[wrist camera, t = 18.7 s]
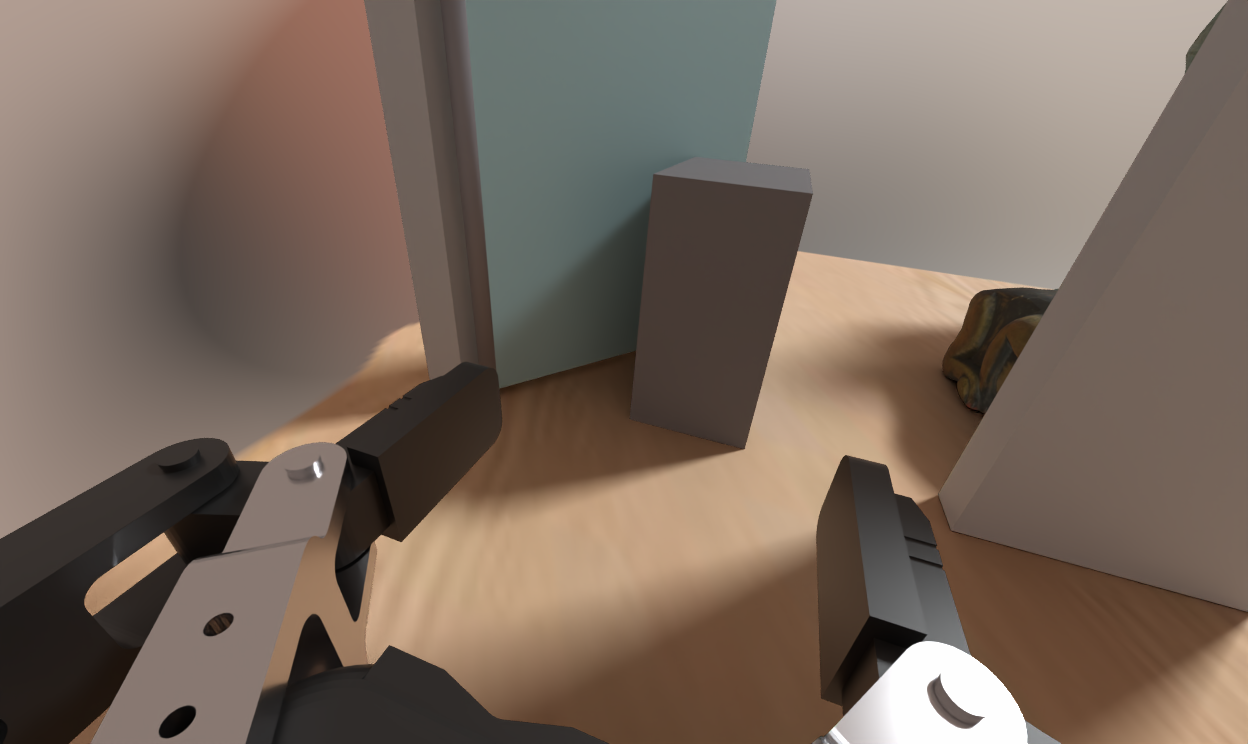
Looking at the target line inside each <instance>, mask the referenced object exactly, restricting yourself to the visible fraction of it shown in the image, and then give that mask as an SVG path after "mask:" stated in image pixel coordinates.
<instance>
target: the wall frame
mask: <svg viewBox="0 0 1248 744" xmlns="http://www.w3.org/2000/svg"><path fill="white" fill-rule="evenodd" d="M364 2H365V8H366V13H367V20H368V26H369V31H370V37H371V43H372V49H373V55H374V60H375V66H376V72H377V78H378V83H379V89H380V95H381V101H382V106H383V112H384V118H385V124H386V130H387V135H388V141H389V147H390V153H391V158H392V164H393V170H394V176H395V182H396V187H397V193H398V199H399V205H400V210H401V216H402V222H403V228H404V234H405V240H406V245H407V251H408V257H409V263H410V269H411V274H412V280H413V285H414V291H415V297H416V303H417V309H418V315H419V321H420V326H421V332H422V338H423V344H424V350H425V355H426V361H427V367H428V373H429V378H430V380H432V379H434V378H437V377H439V376H444V375H445V374H446V373H448V372H449V371H451V370H452V369H453V368H455V367H456V366H457V365H459V364H460V363H462V362H470V363H474V364H478V365H479V362H478V353H477V343H476V334H475V325H474V315H473V306H472V296H471V287H470V277H469V268H468V258H467V249H466V240H465V230H464V221H463V211H462V202H461V192H460V183H459V174H458V164H457V155H456V145H455V136H454V126H453V117H452V108H451V98H450V89H449V79H448V70H447V60H446V51H445V42H444V32H443V23H442V13H441V4H440V0H364ZM938 495H939V498H940V501H941V504H942V507H943V509H944V512H945V515H946V518H947V521H948V523H949V526H950V529H951V531H955V532H959V533H962V534H966V535H970V536H973V537H977V538H981V539H984V540H988V541H991V542H995V543H999V544H1002V545H1006V546H1010V547H1013V548H1017V549H1021V550H1024V551H1028V552H1032V553H1035V554H1039V555H1042V556H1046V557H1050V558H1053V559H1057V560H1061V561H1064V562H1068V563H1072V564H1075V565H1079V566H1082V567H1086V568H1090V569H1093V570H1097V571H1101V572H1104V573H1108V574H1112V575H1115V576H1119V577H1123V578H1126V579H1130V580H1133V581H1137V582H1141V583H1144V584H1148V585H1152V586H1155V587H1159V588H1163V589H1166V590H1170V591H1174V592H1177V593H1181V594H1184V595H1188V596H1192V597H1195V598H1199V599H1203V600H1206V601H1210V602H1214V603H1217V604H1221V605H1225V606H1228V607H1232V608H1235V609H1239V610H1243V611H1246V612H1248V0H1228V2H1227V3H1226V5H1225V7H1224V8H1223V10H1222V12H1221V13H1220V15H1219V17H1218V19H1217V20H1216V22H1215V24H1214V25H1213V27H1212V29H1211V31H1210V32H1209V34H1208V36H1207V37H1206V39H1205V41H1204V42H1203V44H1202V46H1201V48H1200V49H1199V51H1198V53H1197V54H1196V56H1195V58H1194V59H1193V61H1192V63H1191V65H1190V66H1189V68H1188V70H1187V71H1186V73H1185V75H1184V76H1183V78H1182V80H1181V82H1180V83H1179V85H1178V87H1177V88H1176V90H1175V92H1174V94H1173V95H1172V97H1171V99H1170V100H1169V102H1168V104H1167V105H1166V107H1165V109H1164V111H1163V112H1162V114H1161V116H1160V117H1159V119H1158V121H1157V122H1156V124H1155V126H1154V128H1153V129H1152V131H1151V133H1150V134H1149V136H1148V138H1147V139H1146V141H1145V143H1144V145H1143V146H1142V148H1141V150H1140V151H1139V153H1138V155H1137V157H1136V158H1135V160H1134V162H1133V163H1132V165H1131V167H1130V168H1129V170H1128V172H1127V174H1126V175H1125V177H1124V179H1123V180H1122V182H1121V184H1120V186H1119V187H1118V189H1117V191H1116V192H1115V194H1114V196H1113V197H1112V199H1111V201H1110V202H1109V204H1108V206H1107V208H1106V209H1105V211H1104V213H1103V214H1102V216H1101V218H1100V220H1099V221H1098V223H1097V225H1096V226H1095V228H1094V230H1093V231H1092V233H1091V235H1090V237H1089V238H1088V240H1087V242H1086V243H1085V245H1084V247H1083V249H1082V250H1081V252H1080V254H1079V255H1078V257H1077V259H1076V260H1075V262H1074V264H1073V265H1072V267H1071V269H1070V271H1069V272H1068V274H1067V276H1066V278H1065V279H1064V281H1063V282H1062V284H1061V286H1060V288H1059V289H1058V291H1057V293H1056V294H1055V296H1054V298H1053V300H1052V301H1051V303H1050V305H1049V306H1048V308H1047V310H1046V311H1045V313H1044V315H1043V317H1042V318H1041V320H1040V322H1039V323H1038V325H1037V327H1036V328H1035V330H1034V332H1033V334H1032V335H1031V337H1030V339H1029V340H1028V342H1027V344H1026V345H1025V347H1024V349H1023V351H1022V352H1021V354H1020V356H1019V357H1018V359H1017V361H1016V363H1015V364H1014V366H1013V368H1012V369H1011V371H1010V373H1009V374H1008V376H1007V378H1006V380H1005V381H1004V383H1003V385H1002V386H1001V388H1000V390H999V391H998V393H997V395H996V397H995V398H994V400H993V402H992V403H991V405H990V407H989V408H988V410H987V412H986V414H985V415H984V417H983V419H982V420H981V422H980V424H979V426H978V427H977V429H976V431H975V432H974V434H973V436H972V437H971V439H970V441H969V443H968V444H967V446H966V448H965V449H964V451H963V453H962V454H961V456H960V458H959V460H958V461H957V463H956V465H955V466H954V468H953V470H952V471H951V473H950V475H949V477H948V478H947V480H946V482H945V483H944V485H943V487H942V489H941V490H940V492H939V494H938Z"/></svg>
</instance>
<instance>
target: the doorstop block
mask: <svg viewBox="0 0 1248 744" xmlns="http://www.w3.org/2000/svg"><path fill="white" fill-rule="evenodd" d="M812 195H813V191H812V185H811V178H810V172H809V169H802V168H793V167H784V166H775V165H765V164H757V163H748V162H739V161H729V160H720V159H711V158H702V157H694V158H691V159H689V160H686V161H684V162H681V163H679V164H676V165H674V166H672V167H669V168H667V169H664V170H662V171H659V172H657V173H654V174H653V181H652V192H651V202H650V213H649V223H648V233H647V244H646V254H645V265H644V275H643V285H642V296H641V306H640V317H639V327H638V337H637V348H636V358H635V369H634V379H633V389H632V400H631V410H630V420H634V421H638V422H642V423H646V424H649V425H653V426H657V427H661V428H665V429H669V430H672V431H676V432H680V433H684V434H688V435H692V436H696V437H699V438H703V439H707V440H711V441H715V442H719V443H722V444H726V445H730V446H734V447H738V448H742V449H745V445H746V442H747V438H748V434H749V430H750V427H751V423H752V419H753V416H754V412H755V408H756V404H757V401H758V397H759V393H760V389H761V386H762V382H763V378H764V374H765V371H766V367H767V363H768V359H769V356H770V352H771V348H772V345H773V341H774V337H775V333H776V330H777V326H778V322H779V318H780V315H781V311H782V307H783V303H784V300H785V296H786V292H787V288H788V285H789V281H790V277H791V273H792V270H793V266H794V262H795V259H796V255H797V251H798V247H799V243H800V240H801V236H802V232H803V229H804V225H805V221H806V217H807V214H808V210H809V206H810V202H811V199H812Z"/></svg>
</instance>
